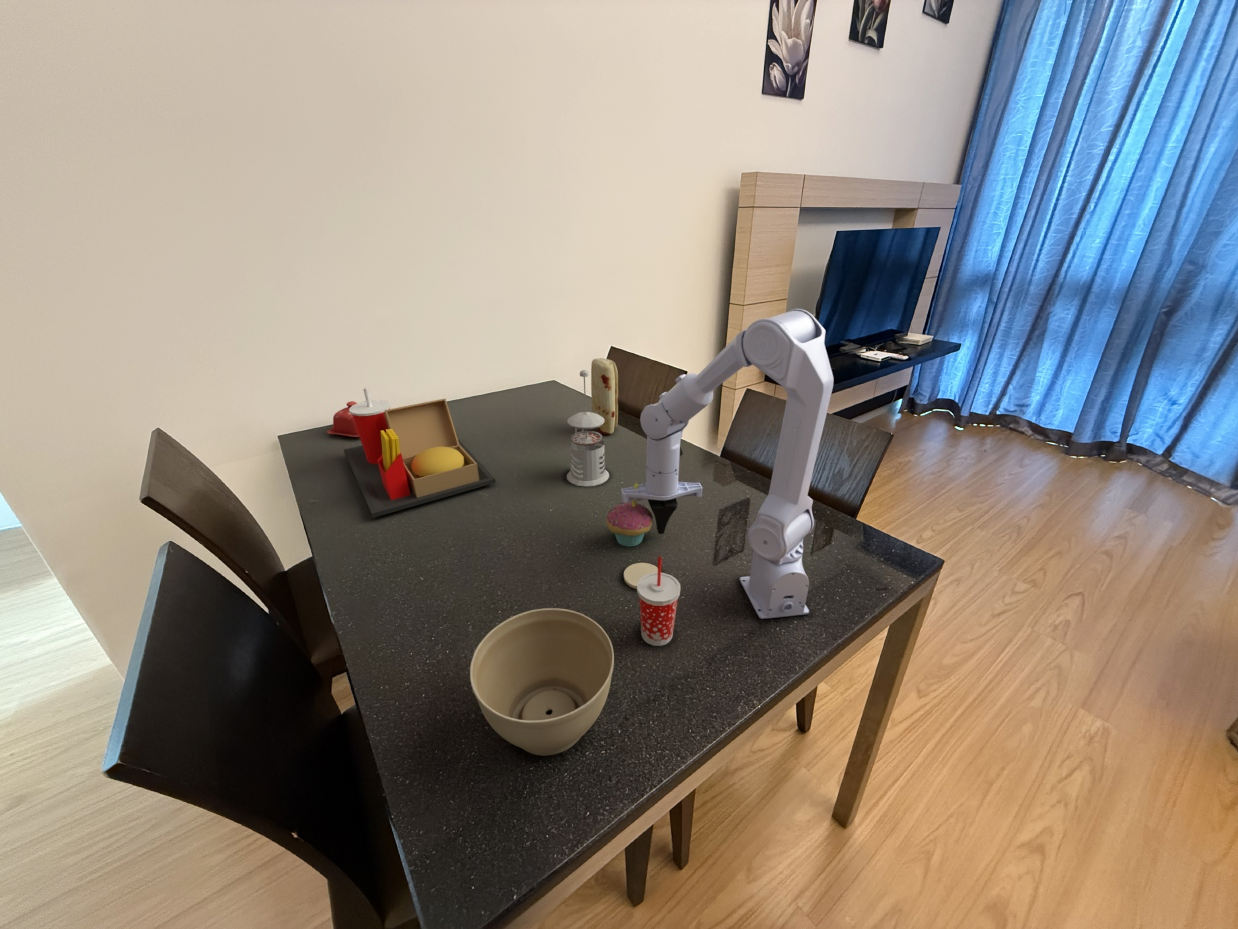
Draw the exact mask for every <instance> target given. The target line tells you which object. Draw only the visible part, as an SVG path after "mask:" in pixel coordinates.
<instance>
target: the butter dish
mask: <svg viewBox="0 0 1238 929" xmlns="http://www.w3.org/2000/svg"><path fill="white" fill-rule="evenodd" d="M355 404H357V402H356V401H353V400H352V401H347V402H346V406H347V407H344V408H342V409H340V410H338V411H337V412H335V413H334V415H333V417H332V419H333V420H332V424H333V425H332V428H330V429H329V430H327V431H326V433H327V434H330V435H337V436H343V437H352V438H360V437H359V434H358V431H357V428H356V425H355V423H354V420H353V417H352V414H351V413H350V412H349V408H350V407H351V406H353V405H355Z"/></svg>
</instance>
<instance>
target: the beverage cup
mask: <svg viewBox="0 0 1238 929" xmlns="http://www.w3.org/2000/svg"><path fill="white" fill-rule="evenodd" d="M657 568H658V573H656V572H654V573H650V574H646V575H645V576H643V577H641V578H640V580H639V581H638V582H637V589H636V593H637V595H638V600H639V601H638V603H639V617H640V632H641V633H640V634H641V638H642V640H643V641H644V642H645V643H647V644H649V645H651V646H655V647H657V646H658V647H661V646H665V645H667V644H669V643H670V642H671V641H672V639H673V636H674V628H675V620H676V614H677V606H678V599H679V597H680V595H681V583H680V582H679V580H678V579H677V578H676V577H675V576H673V575H671V574H668V573H665V572H662V556H661V555H659V556H658V557H657Z"/></svg>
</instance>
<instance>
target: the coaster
mask: <svg viewBox="0 0 1238 929" xmlns="http://www.w3.org/2000/svg"><path fill="white" fill-rule="evenodd" d="M654 572H656V573H658V566H656V565H654V564H652V563H649V562H636V563H632V564H631V565H629V566H627V567H626V568H625V569H624V572H623V580H624V582H625V583H626V585H627V586H629V587H630V588H633V589H635V590H637V582H638V581H639V580H640V578H641V577H643V576H645V575H646V574H650V573H654Z"/></svg>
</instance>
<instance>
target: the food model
mask: <svg viewBox="0 0 1238 929" xmlns="http://www.w3.org/2000/svg"><path fill="white" fill-rule="evenodd" d="M590 367H591V368H590V372H591V373H590V393H591V394H590V395H591V412H592V413H596V414H598V415H600V416H601V417H603V418H604V420H605V422H604V423H603V425H602V426H600V427H598V428H595V429H596V430H595V431H596V432H597V433H600V434H601V435H602V436H604V435H613V433H614V432H615V430H616V429H617V426H618V423H619V422H618V420H619V373H618V368H617V364H616V362H615V361H614V360H612V359H609V358H604V357H599V358H594V359H592V360H591V366H590Z"/></svg>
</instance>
